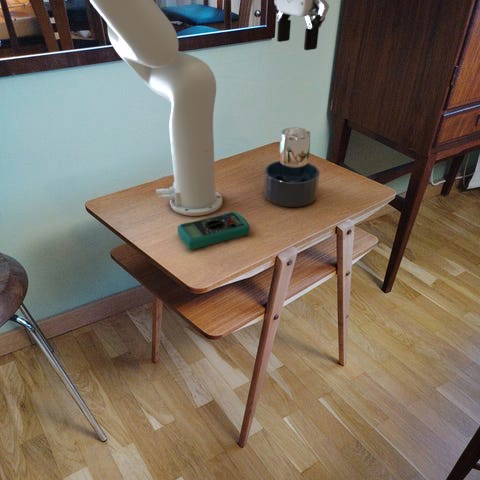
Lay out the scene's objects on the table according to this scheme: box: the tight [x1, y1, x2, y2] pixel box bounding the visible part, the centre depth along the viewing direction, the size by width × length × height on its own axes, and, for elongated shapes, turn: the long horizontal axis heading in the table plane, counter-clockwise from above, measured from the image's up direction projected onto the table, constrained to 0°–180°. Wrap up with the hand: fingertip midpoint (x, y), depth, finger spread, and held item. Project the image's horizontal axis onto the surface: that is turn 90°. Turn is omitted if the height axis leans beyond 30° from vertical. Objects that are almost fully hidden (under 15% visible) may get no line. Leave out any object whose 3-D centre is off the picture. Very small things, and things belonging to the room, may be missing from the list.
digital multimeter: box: [177, 211, 250, 250], centre depth 97 cm, size 7×15×3 cm, turn 117°
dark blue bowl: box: [263, 160, 320, 208], centre depth 110 cm, size 13×13×6 cm
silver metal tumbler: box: [278, 127, 311, 183], centre depth 106 cm, size 7×7×15 cm
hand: (296, 45), depth 100 cm, fingers open, 9 cm apart
